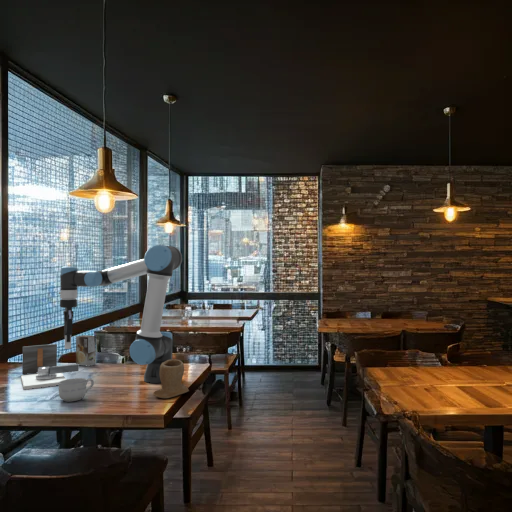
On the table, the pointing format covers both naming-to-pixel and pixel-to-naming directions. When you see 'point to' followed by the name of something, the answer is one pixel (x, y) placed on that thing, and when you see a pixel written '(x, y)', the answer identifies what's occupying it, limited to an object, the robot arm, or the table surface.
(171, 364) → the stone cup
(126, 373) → the table surface
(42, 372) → the grey metal lever
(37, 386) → the base plate
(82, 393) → the teacup
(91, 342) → the coffee box
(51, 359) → the board
